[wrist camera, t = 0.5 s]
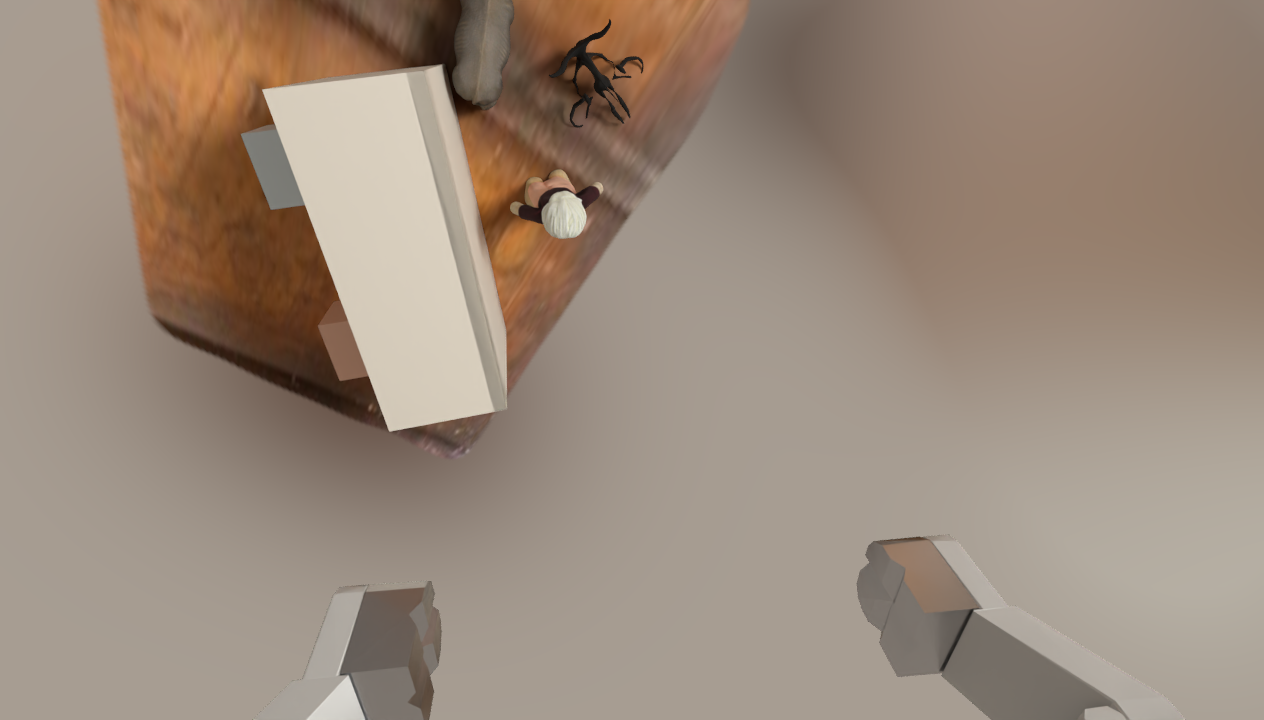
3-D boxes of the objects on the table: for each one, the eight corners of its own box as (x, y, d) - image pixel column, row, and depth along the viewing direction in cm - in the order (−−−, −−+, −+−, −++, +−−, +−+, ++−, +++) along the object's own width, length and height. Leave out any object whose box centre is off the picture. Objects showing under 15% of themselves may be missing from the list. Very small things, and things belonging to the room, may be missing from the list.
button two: (333, 301, 50) (317, 325, 45) (430, 285, 50) (423, 308, 46) (353, 353, 52) (339, 381, 48) (445, 337, 53) (440, 363, 49)
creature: (654, 85, 52) (603, 2, 47) (677, 101, 48) (624, 13, 43) (587, 144, 54) (530, 70, 48) (604, 164, 50) (543, 86, 44)
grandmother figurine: (525, 224, 55) (531, 269, 44) (505, 186, 53) (506, 223, 42) (600, 188, 54) (624, 224, 43) (582, 148, 52) (603, 176, 41)
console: (321, 78, 46) (251, 90, 33) (445, 63, 47) (423, 70, 34) (408, 346, 58) (381, 433, 45) (506, 329, 59) (506, 409, 46)
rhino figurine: (527, -79, 44) (531, -96, 39) (501, 113, 50) (500, 120, 45) (471, -98, 43) (467, -118, 38) (450, 100, 49) (444, 107, 44)
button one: (266, 125, 43) (240, 133, 38) (379, 111, 44) (366, 118, 39) (293, 194, 45) (271, 209, 41) (399, 179, 46) (389, 193, 42)
